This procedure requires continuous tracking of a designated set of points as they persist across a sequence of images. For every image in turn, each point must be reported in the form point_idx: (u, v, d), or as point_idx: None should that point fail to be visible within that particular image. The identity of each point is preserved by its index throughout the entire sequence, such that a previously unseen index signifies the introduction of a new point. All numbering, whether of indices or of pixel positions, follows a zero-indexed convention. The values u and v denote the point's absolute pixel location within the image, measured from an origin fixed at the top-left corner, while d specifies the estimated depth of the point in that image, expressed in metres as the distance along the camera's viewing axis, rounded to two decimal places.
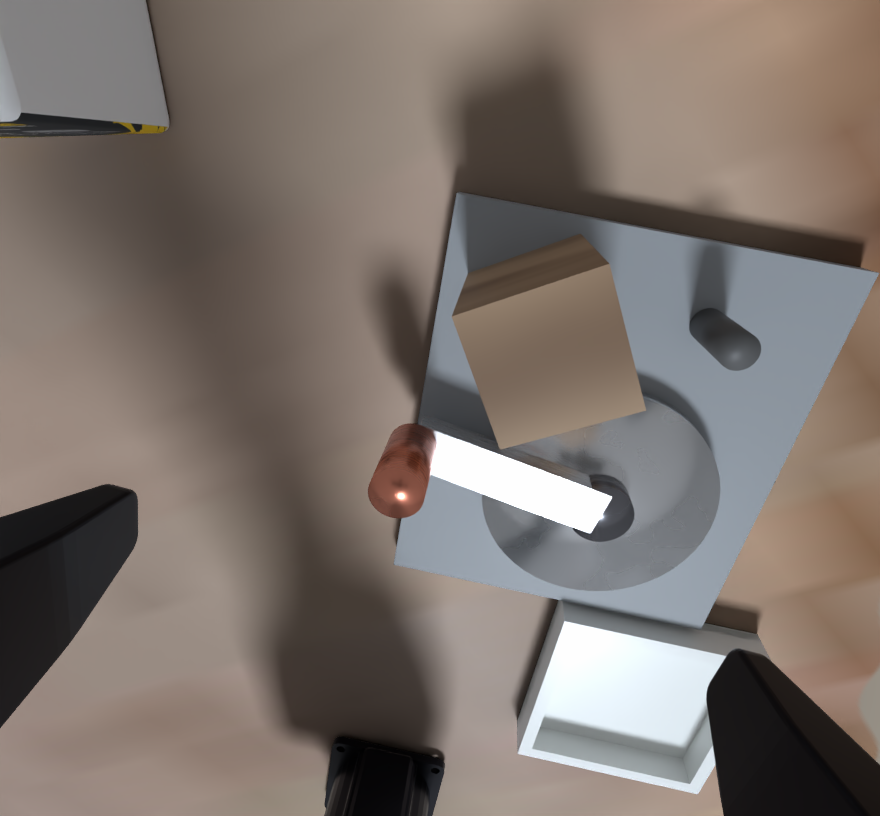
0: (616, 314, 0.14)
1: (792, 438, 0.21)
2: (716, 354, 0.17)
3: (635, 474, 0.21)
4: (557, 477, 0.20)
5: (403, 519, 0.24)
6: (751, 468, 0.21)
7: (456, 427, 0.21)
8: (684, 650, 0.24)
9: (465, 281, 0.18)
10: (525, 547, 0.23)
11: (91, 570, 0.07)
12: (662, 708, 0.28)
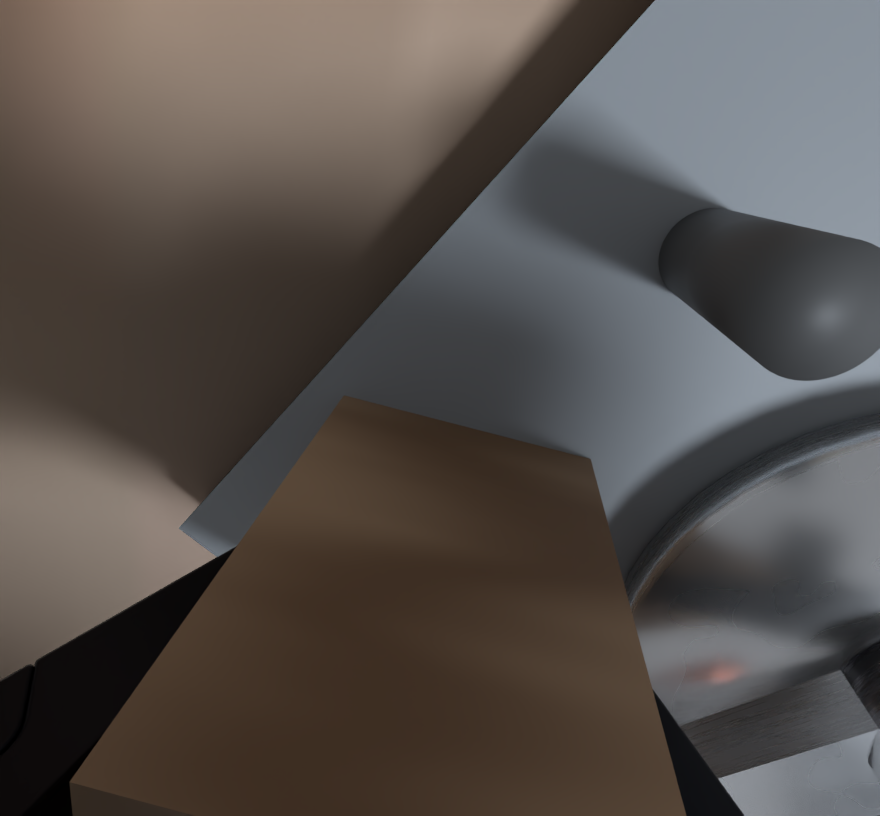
0: None
1: None
2: None
3: None
4: (783, 760, 0.08)
5: None
6: None
7: None
8: None
9: None
10: None
11: None
12: None
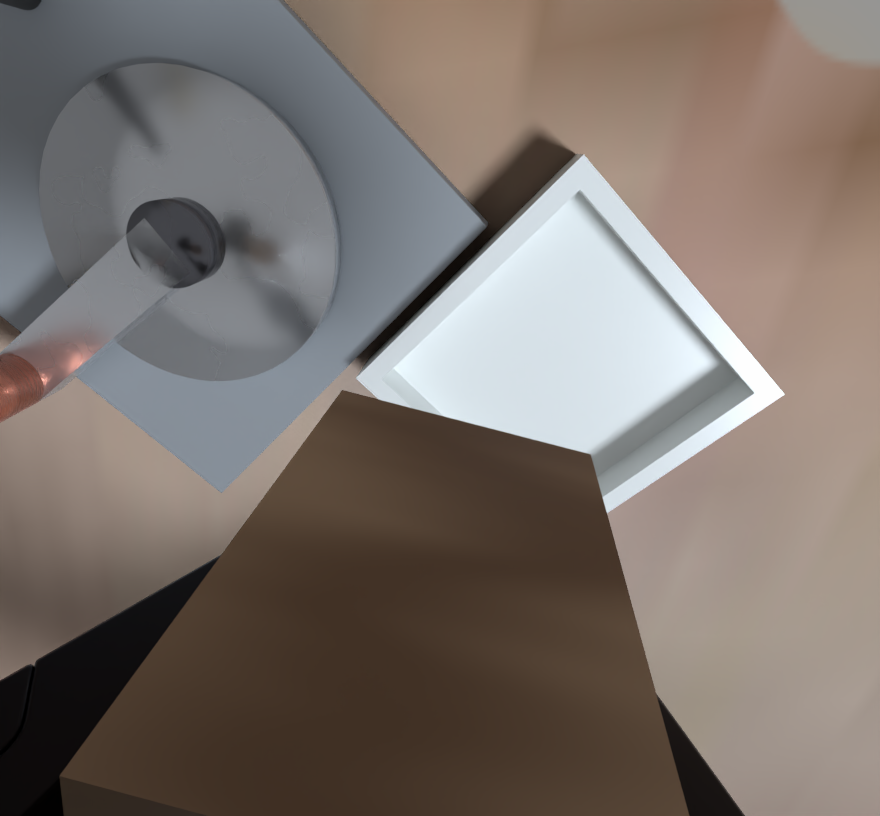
0: None
1: None
2: None
3: (163, 175, 0.16)
4: (97, 263, 0.16)
5: (168, 448, 0.21)
6: (244, 23, 0.15)
7: None
8: (481, 264, 0.16)
9: None
10: (222, 355, 0.18)
11: None
12: (619, 350, 0.18)
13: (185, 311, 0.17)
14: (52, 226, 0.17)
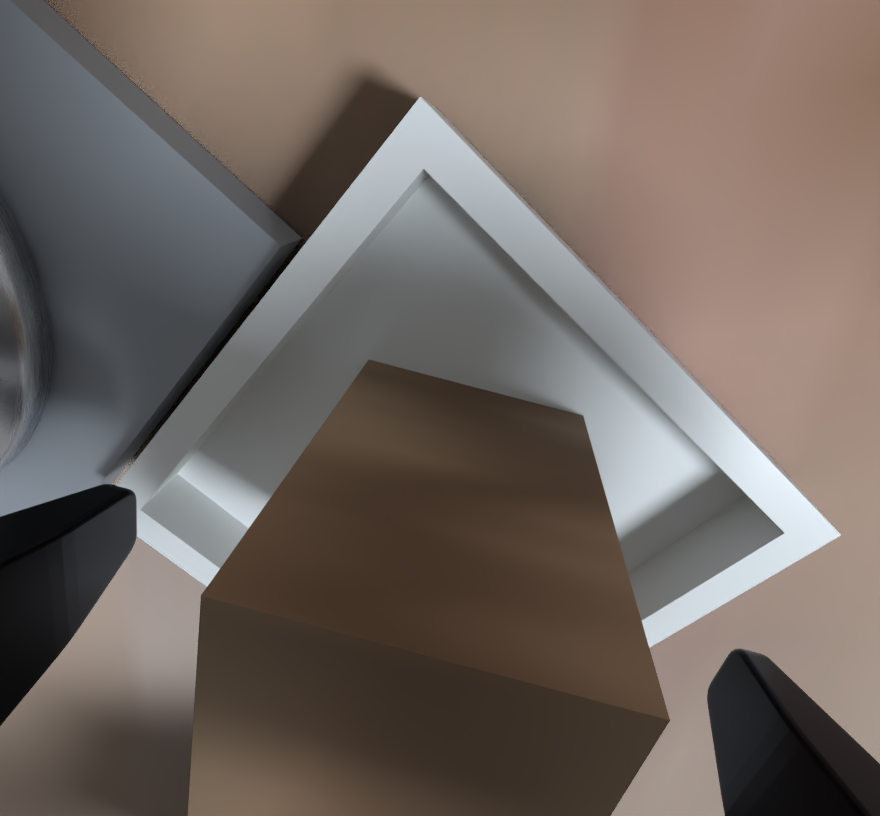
0: (344, 646, 0.05)
1: None
2: None
3: None
4: None
5: None
6: None
7: None
8: (265, 316, 0.09)
9: None
10: None
11: (90, 570, 0.07)
12: None
13: None
14: None
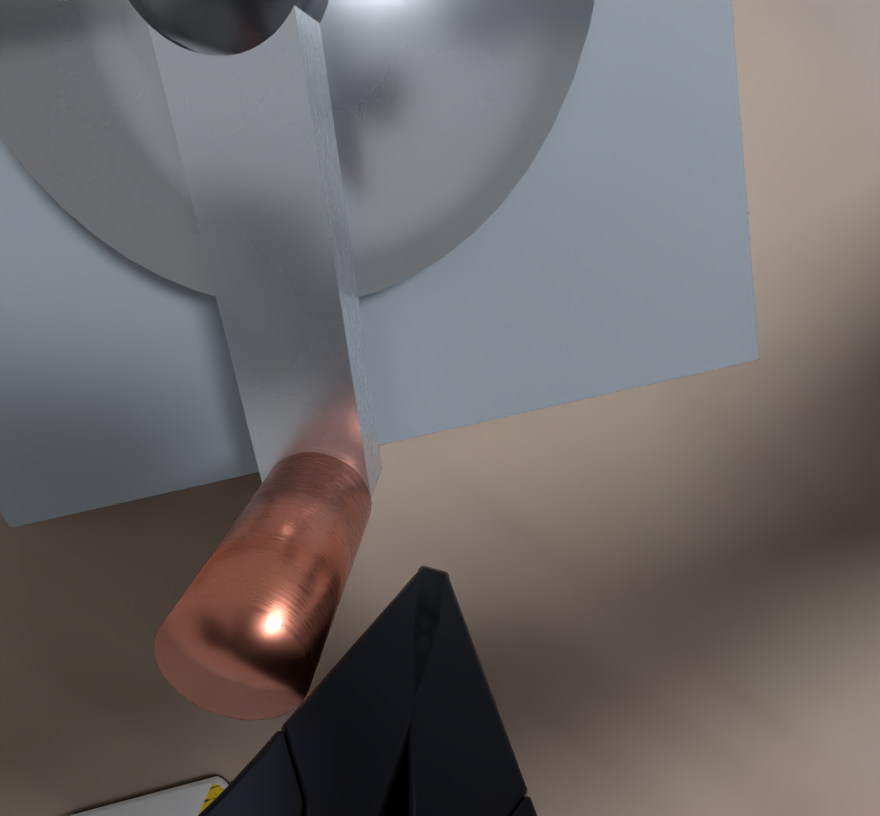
0: None
1: None
2: None
3: None
4: (182, 151, 0.07)
5: (606, 388, 0.10)
6: None
7: None
8: None
9: None
10: (499, 80, 0.07)
11: None
12: None
13: (372, 92, 0.08)
14: (122, 235, 0.09)
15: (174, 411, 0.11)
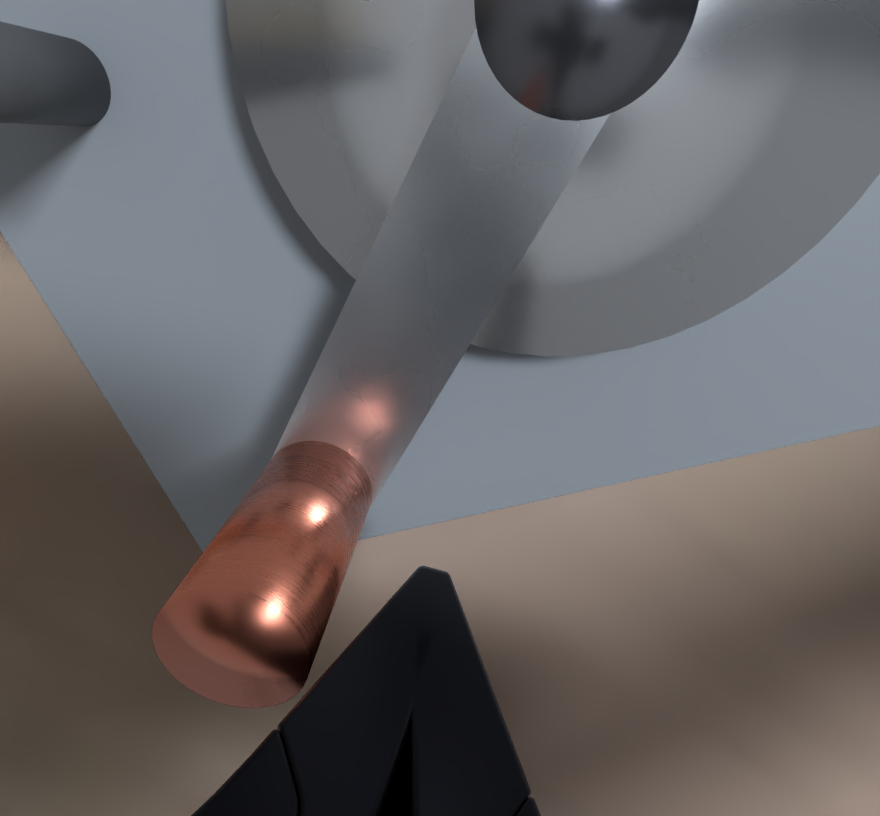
0: None
1: None
2: None
3: None
4: (422, 148, 0.07)
5: (864, 424, 0.10)
6: None
7: None
8: None
9: None
10: (697, 262, 0.08)
11: None
12: None
13: (597, 199, 0.08)
14: (283, 150, 0.08)
15: None
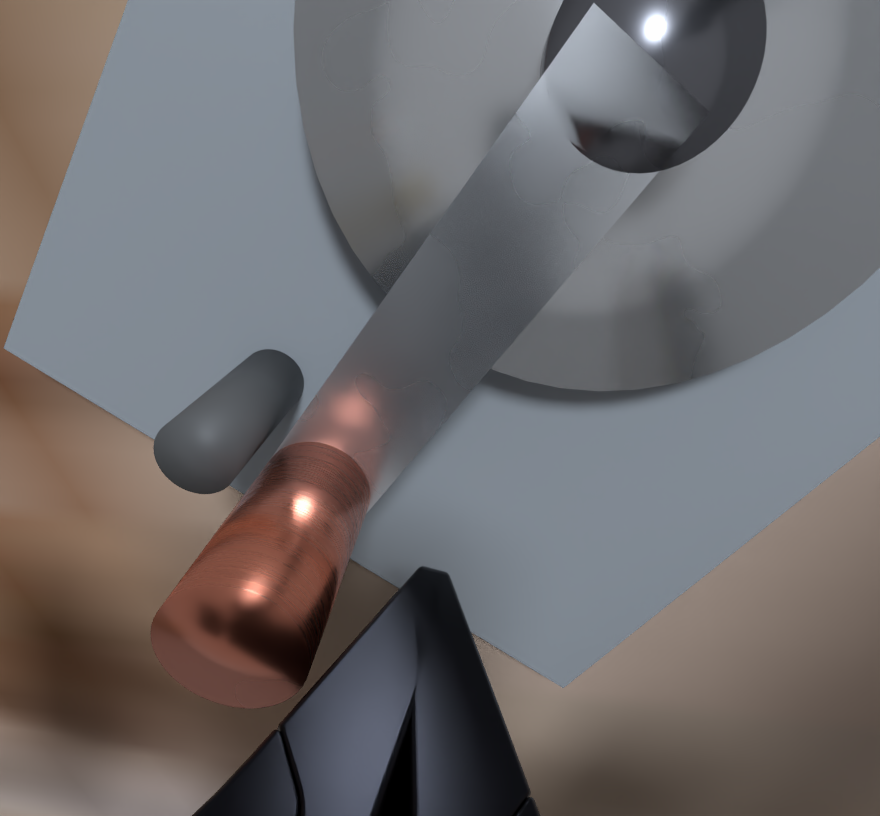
0: None
1: (124, 39, 0.08)
2: (241, 460, 0.08)
3: None
4: (475, 175, 0.07)
5: None
6: None
7: None
8: None
9: None
10: (710, 317, 0.08)
11: None
12: None
13: (627, 245, 0.08)
14: (330, 153, 0.08)
15: (675, 504, 0.11)
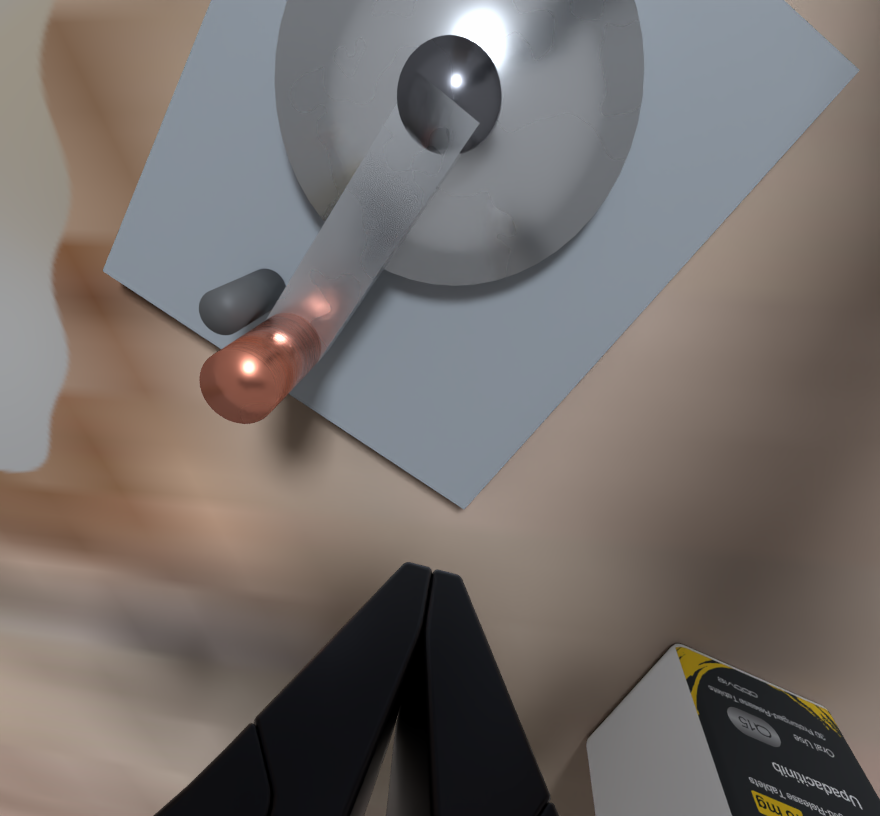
0: None
1: (182, 85, 0.15)
2: (246, 315, 0.14)
3: (417, 25, 0.13)
4: (366, 156, 0.13)
5: (770, 164, 0.14)
6: (236, 51, 0.14)
7: None
8: None
9: None
10: (512, 239, 0.15)
11: None
12: None
13: (461, 197, 0.14)
14: (295, 146, 0.14)
15: (520, 368, 0.17)
